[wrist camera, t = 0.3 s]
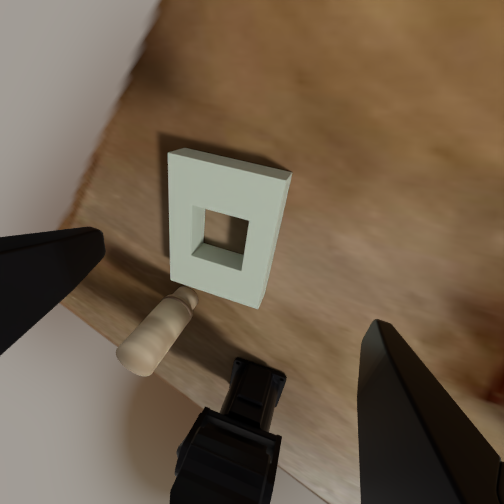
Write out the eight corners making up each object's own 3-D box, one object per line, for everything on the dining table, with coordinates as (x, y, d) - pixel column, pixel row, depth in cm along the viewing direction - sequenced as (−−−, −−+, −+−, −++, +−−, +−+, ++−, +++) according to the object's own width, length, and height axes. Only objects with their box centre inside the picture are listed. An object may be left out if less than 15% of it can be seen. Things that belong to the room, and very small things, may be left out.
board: (264, 292, 26) (258, 309, 24) (183, 266, 28) (170, 280, 26) (292, 172, 20) (286, 180, 18) (184, 147, 21) (167, 152, 19)
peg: (201, 313, 30) (154, 382, 23) (172, 303, 31) (118, 367, 24) (202, 289, 28) (152, 355, 21) (172, 278, 29) (112, 339, 22)
